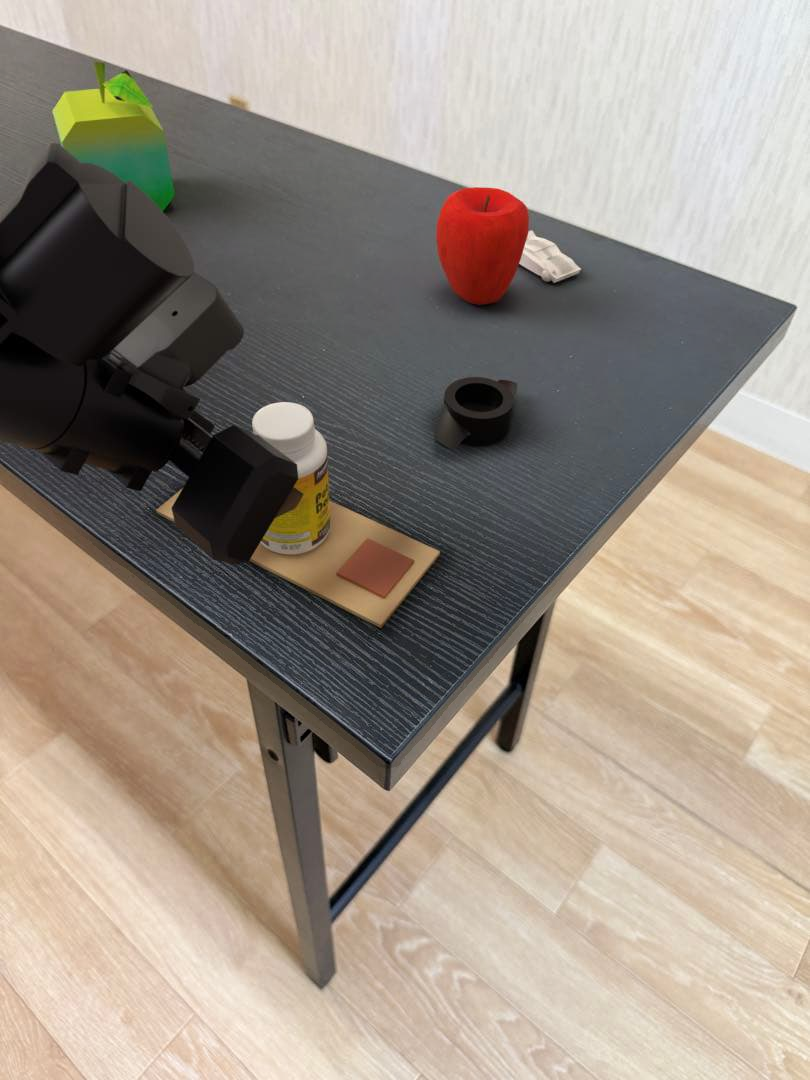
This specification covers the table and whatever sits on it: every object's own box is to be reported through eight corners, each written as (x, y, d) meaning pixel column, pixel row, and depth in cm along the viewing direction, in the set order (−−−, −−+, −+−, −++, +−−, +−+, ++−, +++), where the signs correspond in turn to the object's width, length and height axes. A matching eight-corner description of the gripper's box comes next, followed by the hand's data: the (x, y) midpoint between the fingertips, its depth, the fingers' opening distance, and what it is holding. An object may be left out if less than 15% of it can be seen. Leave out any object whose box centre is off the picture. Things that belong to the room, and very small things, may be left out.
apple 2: (418, 303, 83) (423, 198, 75) (457, 268, 88) (466, 167, 81) (495, 328, 80) (509, 222, 72) (531, 292, 85) (548, 189, 78)
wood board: (156, 513, 61) (155, 507, 60) (226, 456, 65) (225, 449, 65) (381, 628, 54) (381, 622, 53) (439, 554, 59) (440, 548, 58)
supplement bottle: (329, 558, 57) (323, 448, 50) (251, 558, 57) (233, 446, 50) (332, 504, 61) (327, 394, 54) (259, 504, 61) (244, 393, 54)
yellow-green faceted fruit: (83, 223, 93) (45, 80, 82) (72, 189, 99) (36, 51, 88) (177, 210, 96) (153, 70, 85) (161, 178, 102) (137, 43, 91)
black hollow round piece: (548, 439, 68) (554, 411, 66) (440, 465, 65) (442, 437, 63) (507, 388, 73) (511, 361, 71) (405, 410, 70) (406, 382, 68)
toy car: (531, 247, 92) (534, 228, 91) (582, 276, 88) (586, 256, 86) (501, 258, 90) (504, 239, 89) (551, 288, 86) (555, 268, 84)
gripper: (249, 321, 33) (421, 424, 47) (27, 177, 42) (227, 298, 55) (119, 549, 35) (322, 583, 48) (-68, 363, 43) (149, 437, 57)
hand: (252, 464), depth 52 cm, fingers open, 9 cm apart
